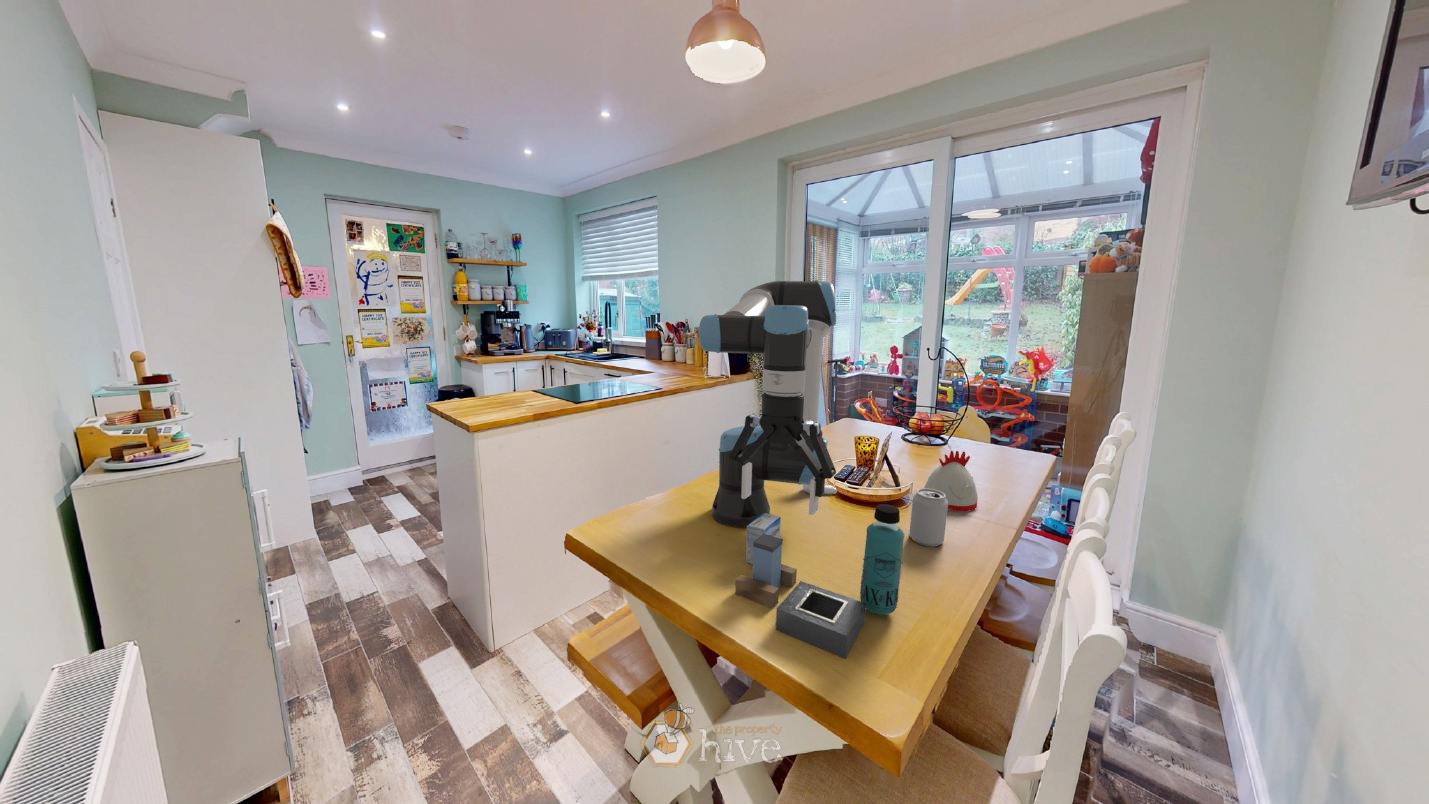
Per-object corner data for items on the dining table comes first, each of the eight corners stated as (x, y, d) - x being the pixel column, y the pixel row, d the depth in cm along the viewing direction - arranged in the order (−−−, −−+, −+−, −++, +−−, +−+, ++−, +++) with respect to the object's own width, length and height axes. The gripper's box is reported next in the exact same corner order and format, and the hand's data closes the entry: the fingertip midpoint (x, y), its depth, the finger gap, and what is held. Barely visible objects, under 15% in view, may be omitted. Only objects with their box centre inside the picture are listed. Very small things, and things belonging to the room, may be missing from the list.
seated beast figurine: (838, 494, 140) (840, 455, 138) (815, 499, 136) (818, 459, 134) (816, 484, 148) (818, 446, 146) (794, 488, 144) (796, 450, 142)
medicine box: (764, 568, 100) (765, 530, 98) (745, 562, 102) (746, 524, 100) (779, 552, 106) (781, 516, 105) (761, 547, 109) (763, 511, 107)
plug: (751, 589, 92) (753, 541, 90) (761, 580, 95) (763, 533, 94) (770, 597, 90) (772, 548, 88) (780, 586, 93) (782, 539, 91)
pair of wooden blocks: (735, 593, 91) (735, 579, 90) (760, 570, 99) (760, 557, 98) (773, 608, 86) (773, 593, 86) (795, 582, 95) (796, 568, 94)
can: (947, 549, 108) (953, 500, 106) (912, 546, 110) (917, 497, 108) (939, 534, 116) (944, 487, 113) (906, 531, 117) (910, 485, 115)
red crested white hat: (986, 512, 129) (993, 459, 126) (935, 511, 129) (941, 458, 126) (961, 492, 143) (967, 444, 140) (915, 491, 143) (919, 443, 140)
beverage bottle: (853, 601, 89) (861, 500, 85) (887, 599, 89) (897, 499, 86) (867, 624, 82) (876, 515, 79) (904, 622, 83) (915, 514, 79)
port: (775, 629, 81) (776, 607, 80) (799, 600, 89) (800, 580, 88) (845, 658, 74) (847, 634, 73) (864, 624, 82) (866, 602, 82)
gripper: (712, 388, 89) (711, 496, 93) (846, 403, 76) (838, 527, 80) (732, 383, 95) (730, 484, 99) (858, 396, 83) (850, 511, 87)
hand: (778, 504), depth 90 cm, fingers open, 13 cm apart
